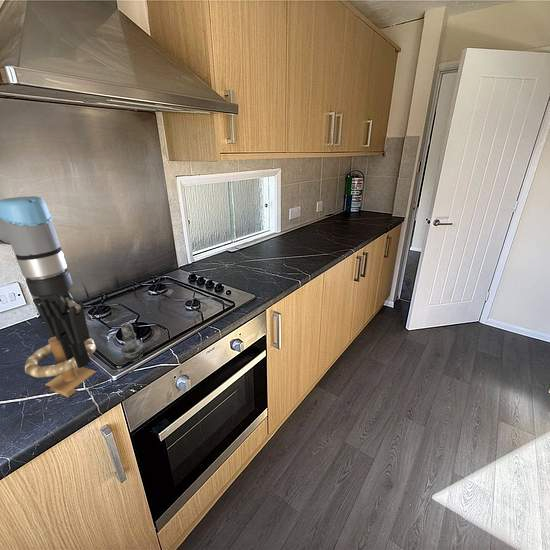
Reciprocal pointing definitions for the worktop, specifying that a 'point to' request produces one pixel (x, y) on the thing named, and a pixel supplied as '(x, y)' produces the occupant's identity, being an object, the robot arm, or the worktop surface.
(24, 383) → the worktop surface
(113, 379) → the worktop surface
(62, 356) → the post stand
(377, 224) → the worktop surface
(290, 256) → the worktop surface
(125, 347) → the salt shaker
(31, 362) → the ring
